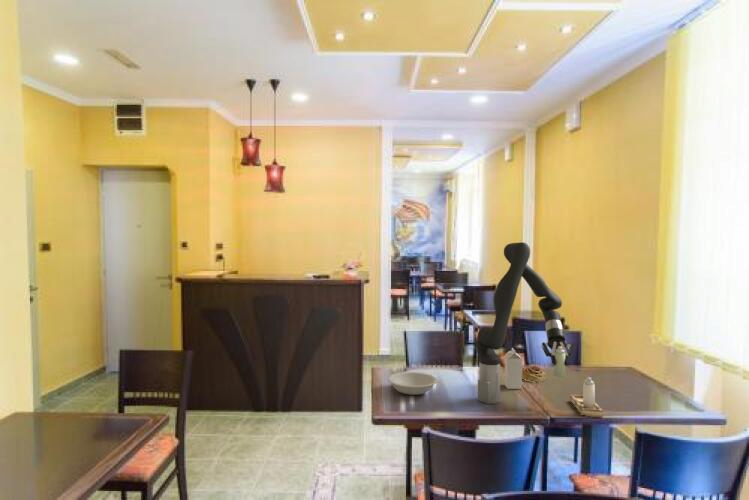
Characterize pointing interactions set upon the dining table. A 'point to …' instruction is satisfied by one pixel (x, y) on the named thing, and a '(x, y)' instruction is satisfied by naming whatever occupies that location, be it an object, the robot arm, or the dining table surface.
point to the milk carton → (513, 370)
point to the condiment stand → (578, 403)
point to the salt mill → (589, 394)
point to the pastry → (533, 373)
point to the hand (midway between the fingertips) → (560, 364)
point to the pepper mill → (559, 363)
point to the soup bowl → (412, 382)
